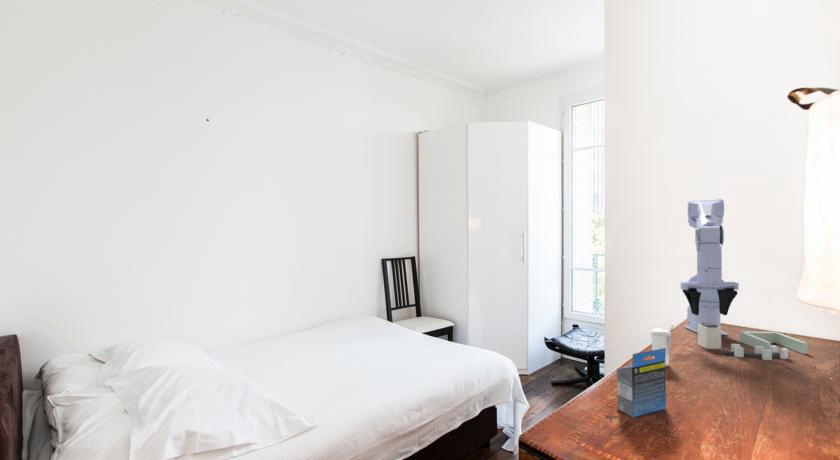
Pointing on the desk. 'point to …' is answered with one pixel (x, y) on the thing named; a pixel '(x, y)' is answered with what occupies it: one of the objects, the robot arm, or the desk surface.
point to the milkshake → (661, 341)
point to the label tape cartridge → (642, 384)
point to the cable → (750, 354)
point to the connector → (709, 336)
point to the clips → (760, 351)
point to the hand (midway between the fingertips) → (709, 314)
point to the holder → (772, 340)
